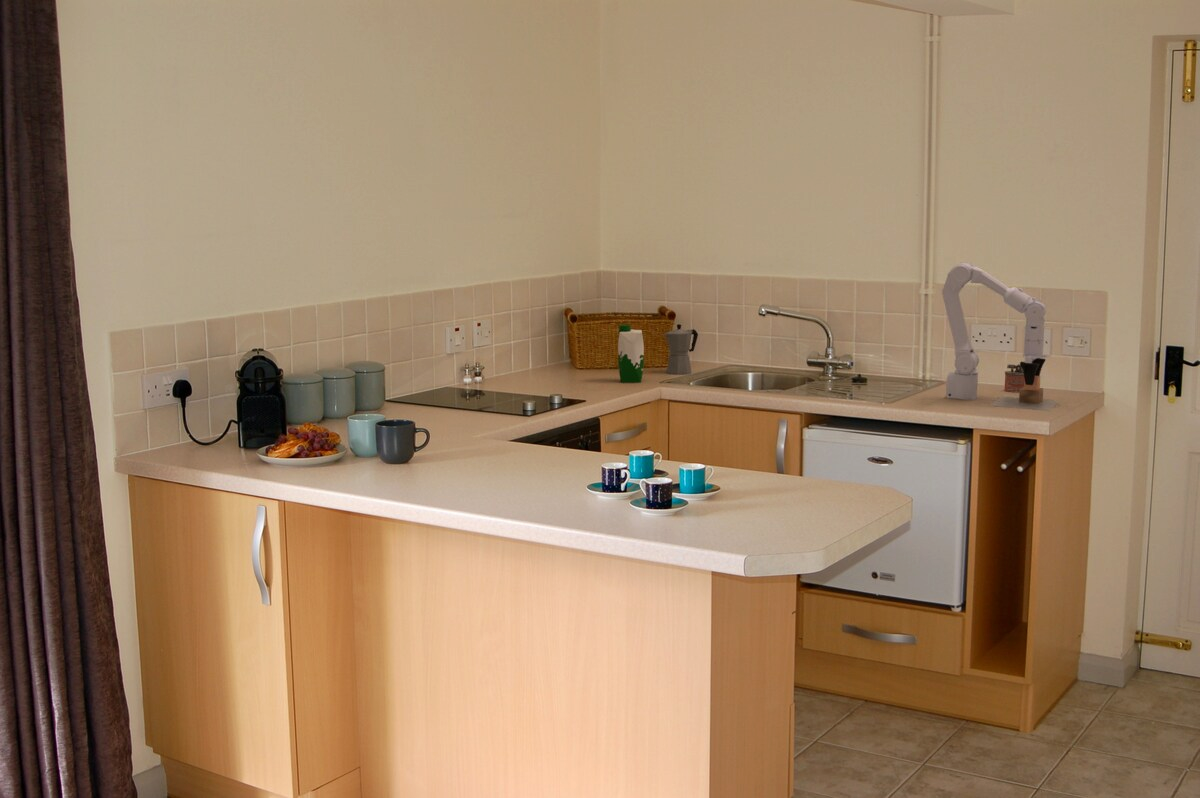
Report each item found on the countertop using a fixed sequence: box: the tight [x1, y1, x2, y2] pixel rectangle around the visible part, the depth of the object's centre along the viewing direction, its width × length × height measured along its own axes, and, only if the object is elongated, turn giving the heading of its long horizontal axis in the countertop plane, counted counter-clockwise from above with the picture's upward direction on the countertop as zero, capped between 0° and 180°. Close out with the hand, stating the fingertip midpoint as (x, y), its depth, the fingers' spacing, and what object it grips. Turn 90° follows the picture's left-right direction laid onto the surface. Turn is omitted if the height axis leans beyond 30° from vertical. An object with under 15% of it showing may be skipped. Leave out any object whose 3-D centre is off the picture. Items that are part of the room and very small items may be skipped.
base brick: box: [1018, 387, 1044, 404], centre depth 403 cm, size 6×6×4 cm
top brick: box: [1024, 375, 1041, 390], centre depth 403 cm, size 4×4×4 cm
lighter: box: [1003, 363, 1024, 393], centre depth 422 cm, size 8×3×10 cm, turn 65°
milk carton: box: [617, 324, 645, 384], centre depth 453 cm, size 9×9×20 cm
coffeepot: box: [664, 323, 699, 376], centre depth 472 cm, size 15×9×18 cm, turn 125°
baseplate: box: [988, 396, 1061, 411], centre depth 401 cm, size 18×18×1 cm
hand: (1031, 383), depth 403 cm, fingers open, 7 cm apart
